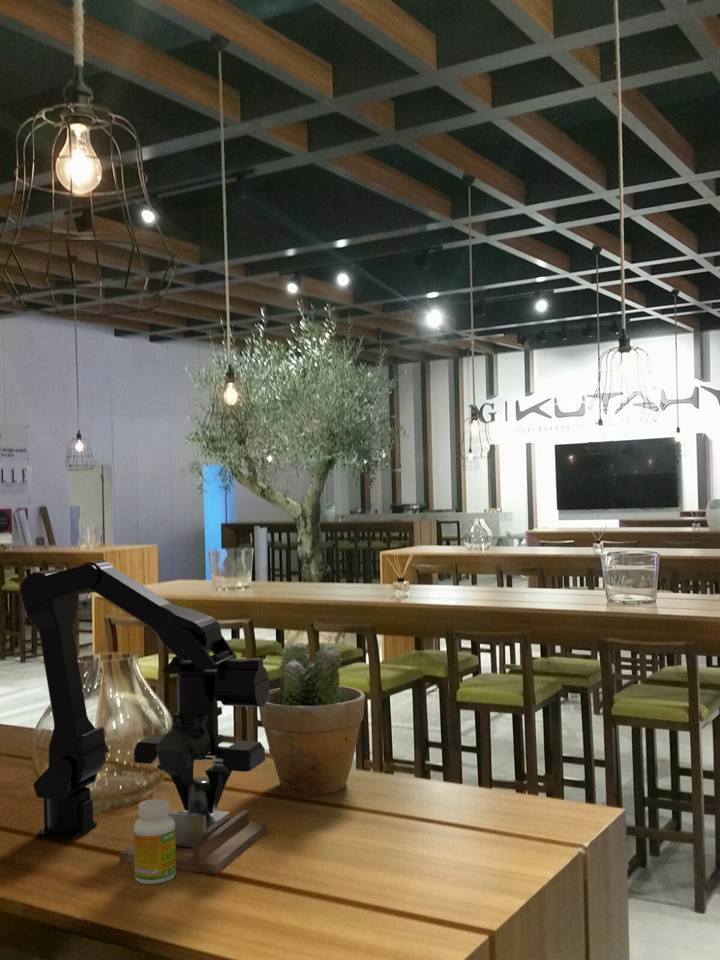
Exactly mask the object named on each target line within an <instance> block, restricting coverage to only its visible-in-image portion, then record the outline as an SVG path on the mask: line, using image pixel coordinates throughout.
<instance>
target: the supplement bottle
mask: <svg viewBox="0 0 720 960" xmlns="http://www.w3.org/2000/svg"><path fill="white" fill-rule="evenodd" d="M169 811H170V802H169V800H166V799H161V798H155V799H154V798H153V799H152V798H151V799H147V800H144V801H141V802H140V803H139V804H138V817H139V818H138V819H137V820H136V822H134V825H133V844H134V863H133V864H134V879H135V880H136V881H137V882H138V883H140V884H144V885H156V884H157V885H159V884H163V883H167V882H169V881H170V880H172V879H173V878H174V877H175V876H176V872H177V869H176V845H175V822H174V820H173V819H172V818H171V817H170V816H168V814H169Z"/></svg>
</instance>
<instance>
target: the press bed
mask: <svg viewBox="0 0 720 960" xmlns="http://www.w3.org/2000/svg"><path fill="white" fill-rule="evenodd" d="M266 833H268V823H265V822H257V821H250V811H249V810H246V809H245V810H242V811H240V812H238V813H237V814H236V815H234V816H233V817H232V818H230V820H229V821H228V822H227V823H225V824H224V825H223V826H221V827H220V828H219V829H217V830H216V831H215V832H213V833H212V834H211V835H209V836H208V837H207V838H205V839H204V840H202V841H201V842H200V843H198V844H197V845H196V846H194V847H185V846H177V845H176V870H181V871H190V872H197V873H203V874H205V873H206V874H214V875H218V874H219V873H220V872H221V871H222V870H223V869H224V867H225V866H226V865H227V864H228V865H229V864H230V863H232V862H233V861H234V860H235V859H237V858H238V857H239V856H240V855H241V854H242V853H243V852H245V851H247V849H249V848H250V847H251V846H252V845H253V844H254V843H256V842H257V841H258V840H259V839H261V838H262V837H261V836H264V835H265V834H266ZM249 846H250V847H249ZM237 856H238V857H237ZM233 859H234V860H233ZM232 860H233V861H232ZM231 861H232V862H231ZM119 862H120V863H126V864H134V843H133V844H131V845H130V846H128V847H127V848H125V849H124V850H122V851H120V852H119ZM228 865H227V866H228ZM227 866H226V867H227ZM226 867H225V868H226ZM218 872H219V873H218Z"/></svg>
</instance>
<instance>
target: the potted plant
mask: <svg viewBox="0 0 720 960" xmlns="http://www.w3.org/2000/svg"><path fill="white" fill-rule="evenodd" d="M282 650H283V652H282V651H281V652H280V656H282V657H281V660H282V661H280V663H281V666H280V670H281V672H282V673H281V674H282V676H281V677H280V680H279V684H280V685H279V687H278V688H274V689H270V690H269V696H268V699H267V702H266V704H265V705H264V706H263V707H258V710H259V718H260V723H261V724H262V726H263V728H264V732H265V737H266V741H267V746H268V751H269V754H270V755H271V758H272V760H273V763H274V766H275V770H276V773H277V776H278V779H279V784H280V787H281V788H282V790H283V791H284V792H286V793H288V794H292V795H295V796H302V797H303V796H304V797H317V796H326V795H331V794H334V793H337V792H339V791H341V790H342V789H344V788H345V787H346V785H347V783H348V779H349V775H350V772H351V770H352V766H353V761H354V757H355V751H356V747H357V743H358V738H359V731H360V727H361V726H360V725H361V723H362V721H363V720H364V716H365V715H364V711H365V699H366V696H365V693H364V692H363V691H362V690H360V689H358V688H355V687H352V686H345V685H341V684H340V678H341V677H340V675H341V674H340V672H339V670H340V668H341V662H342V661H343V658H341V655H342V653H341V652H340V650H339V648H338V647H337V646H336V645H332V644H331V645H330V644H324V646H319V650H317V652H315V658H314V660H313V662H311V657H310V654H309V651H308V648H307V645H306V644H305V643H303V642H297V641H296V642H295V641H294V642H290V643H287V644H285V646H284V647H282Z"/></svg>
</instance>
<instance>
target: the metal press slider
mask: <svg viewBox="0 0 720 960" xmlns="http://www.w3.org/2000/svg"><path fill="white" fill-rule="evenodd" d="M187 793H188V811H185V809H184V810H182V811H177V810H169V814H168V816H170V817H171V818H172V819H173V820H174V822H175V845H177V846H185V847H194V846H196V845H197V844H198V843H200V842H201V841H202V840H204V839H205V838H207V837H208V836H209V835H211V834H212V833H213V832H215V831H216V830H217V829H219V828H220V827H221V826H223V825H224V824H225V823H227V822H228V821H229V820H231V811H225V810H223V811H222V810H216V811H215V812H214V813H213V814H212V813H210V810H209V778H208V776H207V777H202V776H200V777H199V776H198V777H193V779H190V780H188V781H187Z"/></svg>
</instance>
